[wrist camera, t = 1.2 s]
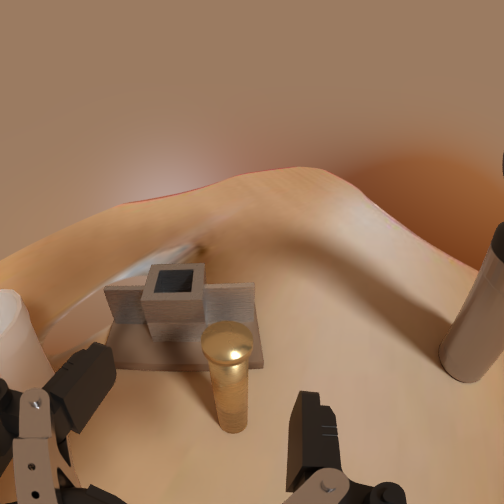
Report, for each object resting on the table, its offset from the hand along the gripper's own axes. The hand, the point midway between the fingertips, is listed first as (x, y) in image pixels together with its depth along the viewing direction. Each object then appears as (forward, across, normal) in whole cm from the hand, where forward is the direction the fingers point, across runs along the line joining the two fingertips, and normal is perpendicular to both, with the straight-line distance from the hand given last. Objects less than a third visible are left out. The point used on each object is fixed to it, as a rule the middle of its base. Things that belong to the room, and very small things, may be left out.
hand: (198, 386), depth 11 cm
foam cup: (+8, +24, +20) cm, 32 cm away
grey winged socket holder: (+23, +8, +13) cm, 28 cm away
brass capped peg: (+11, -1, +17) cm, 20 cm away
